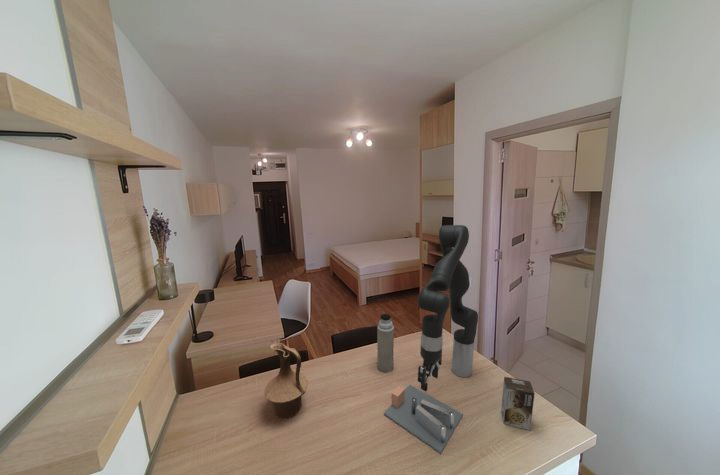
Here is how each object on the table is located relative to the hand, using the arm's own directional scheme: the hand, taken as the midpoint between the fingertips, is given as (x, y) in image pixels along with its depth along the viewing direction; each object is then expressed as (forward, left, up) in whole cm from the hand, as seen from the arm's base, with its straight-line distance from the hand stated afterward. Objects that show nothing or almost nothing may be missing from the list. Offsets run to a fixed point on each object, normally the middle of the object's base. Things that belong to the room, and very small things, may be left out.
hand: (429, 383), depth 98 cm
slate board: (-2, -3, -18) cm, 18 cm away
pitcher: (+31, -47, -18) cm, 59 cm away
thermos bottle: (-15, -31, -18) cm, 39 cm away
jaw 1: (-3, +2, -17) cm, 17 cm away
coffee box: (-23, +25, -18) cm, 38 cm away
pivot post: (0, -6, -18) cm, 19 cm away
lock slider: (0, -14, -17) cm, 22 cm away
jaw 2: (+3, +2, -17) cm, 17 cm away
